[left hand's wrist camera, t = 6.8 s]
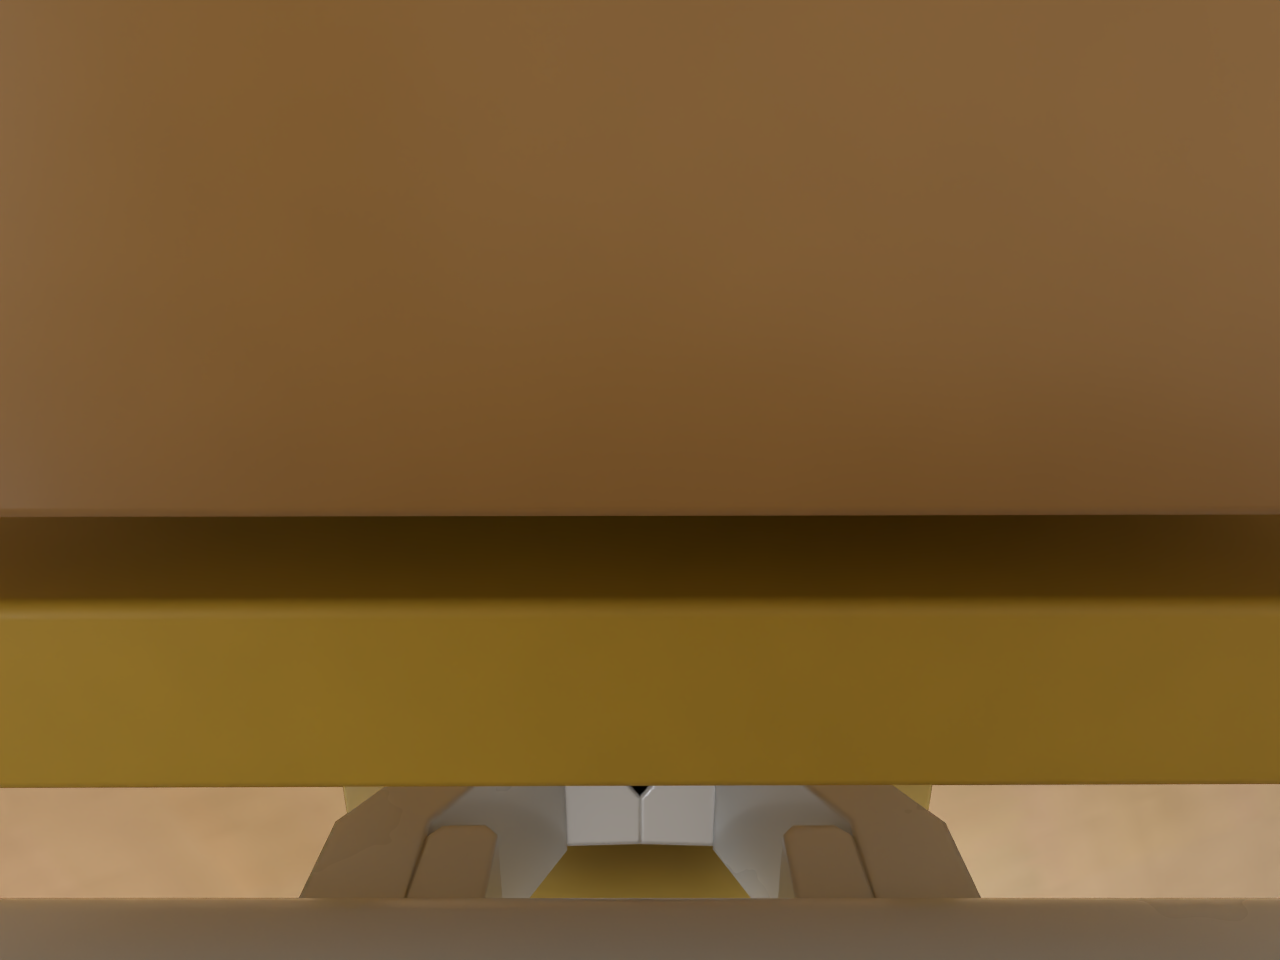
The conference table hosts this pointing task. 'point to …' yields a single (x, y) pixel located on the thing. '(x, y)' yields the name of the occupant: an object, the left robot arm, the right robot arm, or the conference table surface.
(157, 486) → the cabinet
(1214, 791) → the conference table surface
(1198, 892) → the conference table surface
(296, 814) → the conference table surface
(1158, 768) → the drawer
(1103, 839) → the conference table surface
